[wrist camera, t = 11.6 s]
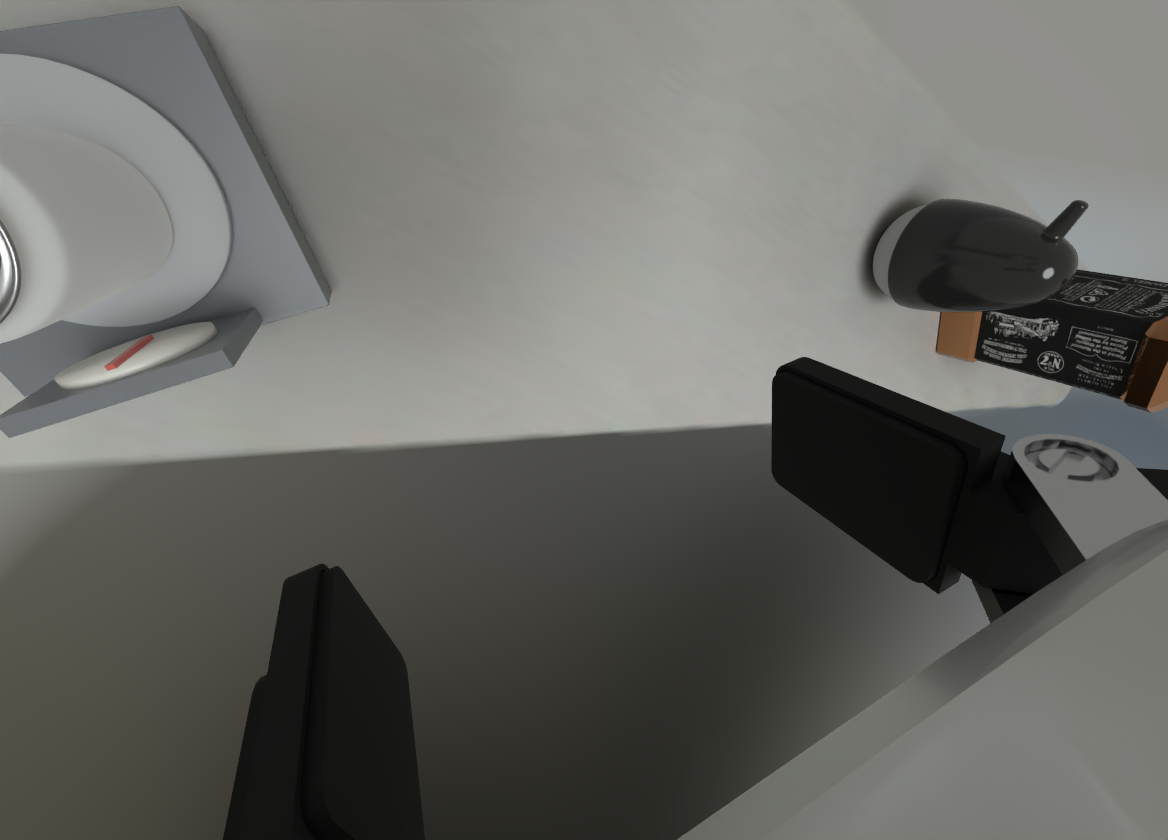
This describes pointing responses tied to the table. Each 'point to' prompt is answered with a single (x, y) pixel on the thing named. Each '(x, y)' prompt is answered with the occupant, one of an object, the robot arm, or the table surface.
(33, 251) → the can
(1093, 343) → the whiskey bottle
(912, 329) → the table surface
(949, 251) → the pump dispenser
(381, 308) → the table surface
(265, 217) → the scale
